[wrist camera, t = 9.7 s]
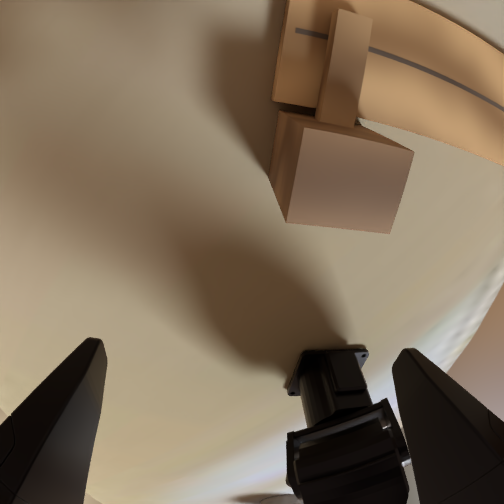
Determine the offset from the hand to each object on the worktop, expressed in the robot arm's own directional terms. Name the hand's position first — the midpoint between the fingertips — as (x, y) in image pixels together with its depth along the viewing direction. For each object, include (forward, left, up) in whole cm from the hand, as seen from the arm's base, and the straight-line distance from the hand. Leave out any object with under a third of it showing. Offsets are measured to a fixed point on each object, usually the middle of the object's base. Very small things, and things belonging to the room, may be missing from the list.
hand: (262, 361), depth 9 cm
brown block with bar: (+6, -4, -12) cm, 14 cm away
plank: (+10, -11, -12) cm, 19 cm away
